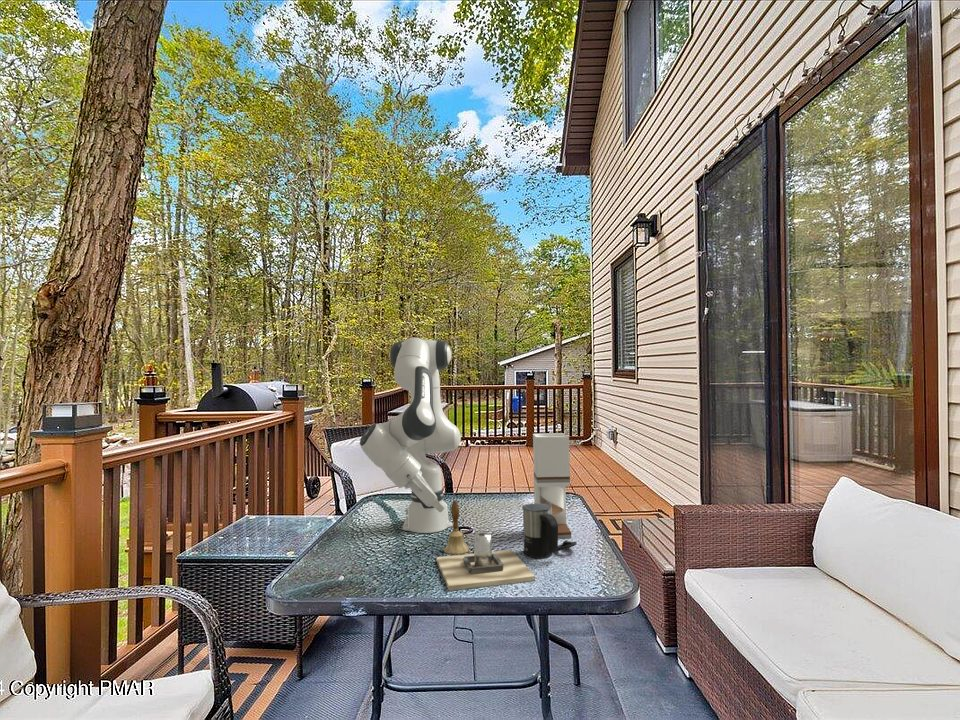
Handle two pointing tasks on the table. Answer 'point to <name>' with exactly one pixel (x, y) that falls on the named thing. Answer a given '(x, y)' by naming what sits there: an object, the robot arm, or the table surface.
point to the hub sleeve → (482, 549)
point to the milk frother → (541, 532)
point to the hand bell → (455, 535)
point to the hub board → (483, 570)
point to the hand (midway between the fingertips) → (439, 505)
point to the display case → (552, 475)
